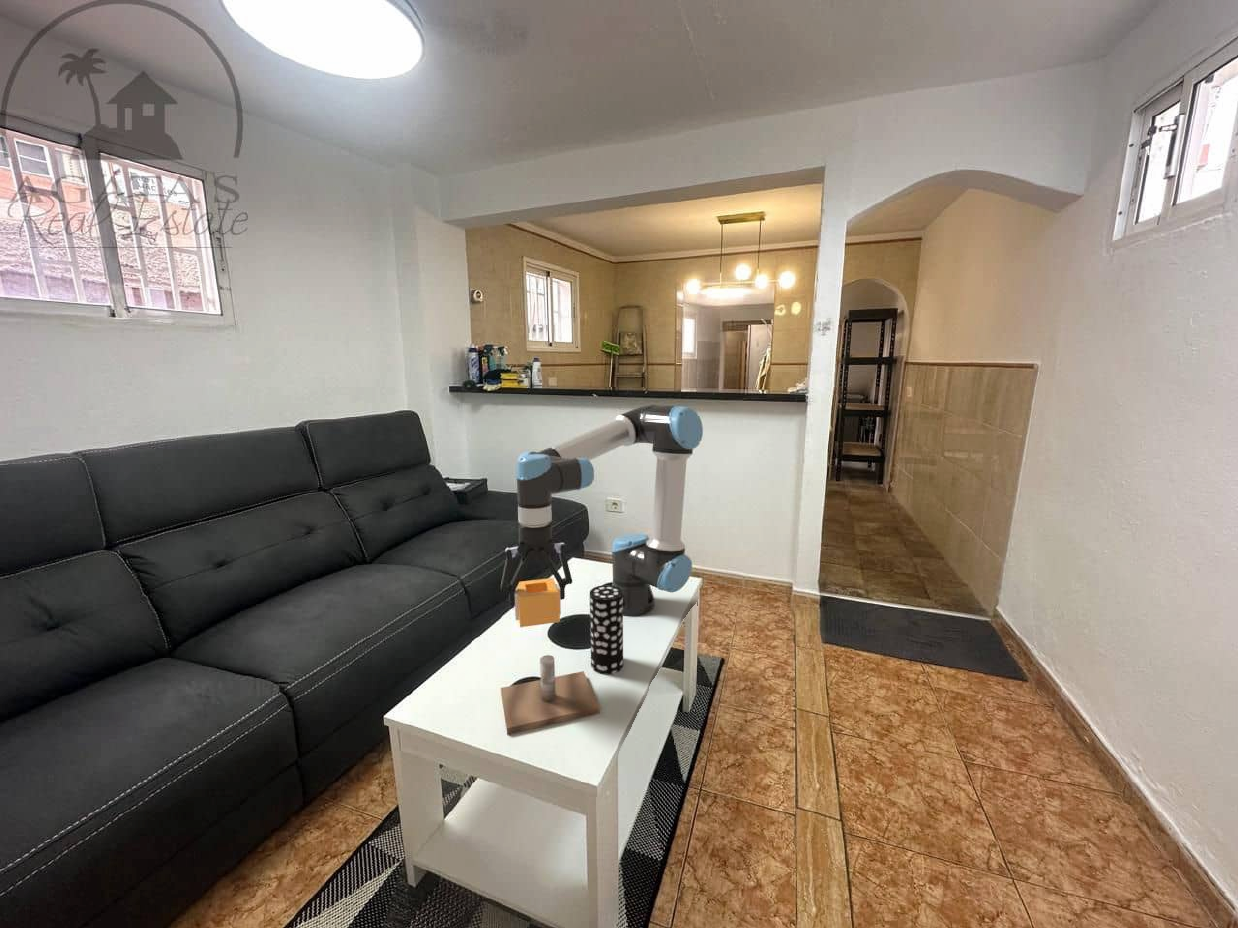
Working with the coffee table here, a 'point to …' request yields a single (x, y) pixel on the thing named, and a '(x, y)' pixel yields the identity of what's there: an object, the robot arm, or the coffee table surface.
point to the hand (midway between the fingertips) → (537, 614)
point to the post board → (547, 712)
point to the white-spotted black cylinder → (606, 629)
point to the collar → (538, 602)
